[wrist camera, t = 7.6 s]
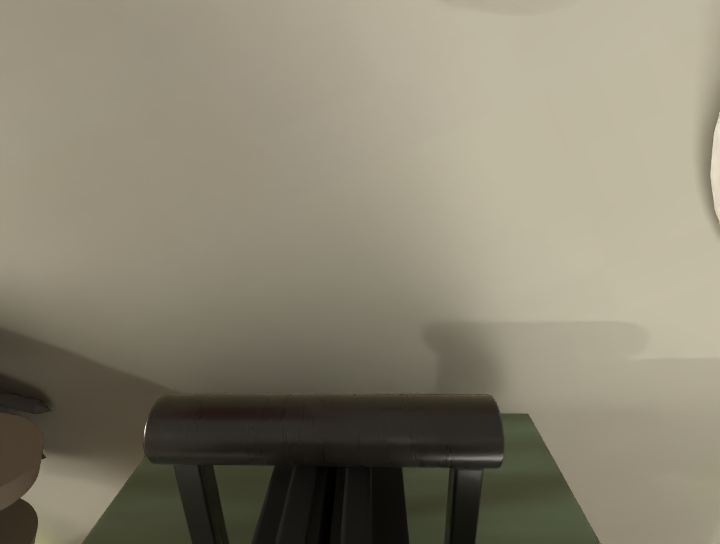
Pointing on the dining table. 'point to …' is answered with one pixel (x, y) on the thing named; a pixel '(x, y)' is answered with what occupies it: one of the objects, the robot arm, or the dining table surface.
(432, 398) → the drawer
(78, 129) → the dining table surface
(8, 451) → the figurine character
